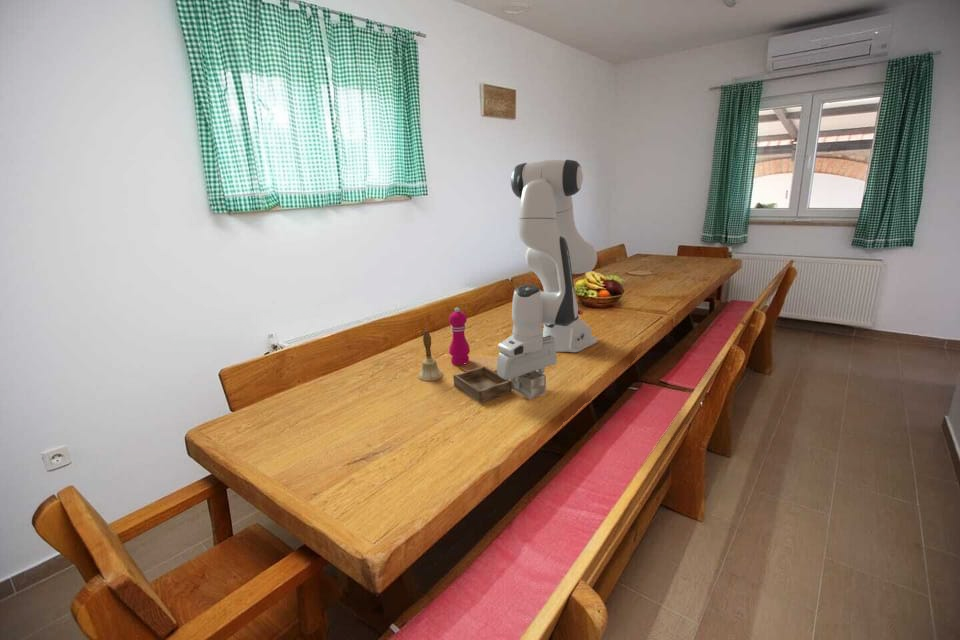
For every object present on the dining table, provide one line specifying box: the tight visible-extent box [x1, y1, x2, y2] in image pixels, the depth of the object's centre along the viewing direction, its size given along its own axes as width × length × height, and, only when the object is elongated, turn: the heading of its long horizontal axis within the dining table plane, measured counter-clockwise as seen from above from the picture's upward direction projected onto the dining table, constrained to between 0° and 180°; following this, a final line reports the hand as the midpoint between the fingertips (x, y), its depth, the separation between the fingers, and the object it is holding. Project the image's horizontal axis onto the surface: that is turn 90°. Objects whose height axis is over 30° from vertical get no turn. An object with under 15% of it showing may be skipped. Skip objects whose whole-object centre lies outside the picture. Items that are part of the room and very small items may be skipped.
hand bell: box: [417, 329, 444, 382], centre depth 152 cm, size 8×8×16 cm
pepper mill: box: [448, 307, 471, 366], centre depth 162 cm, size 7×7×20 cm
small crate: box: [510, 370, 547, 400], centre depth 139 cm, size 6×9×6 cm, turn 34°
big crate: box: [453, 365, 513, 404], centre depth 143 cm, size 12×15×4 cm
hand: (528, 384), depth 140 cm, fingers open, 6 cm apart
